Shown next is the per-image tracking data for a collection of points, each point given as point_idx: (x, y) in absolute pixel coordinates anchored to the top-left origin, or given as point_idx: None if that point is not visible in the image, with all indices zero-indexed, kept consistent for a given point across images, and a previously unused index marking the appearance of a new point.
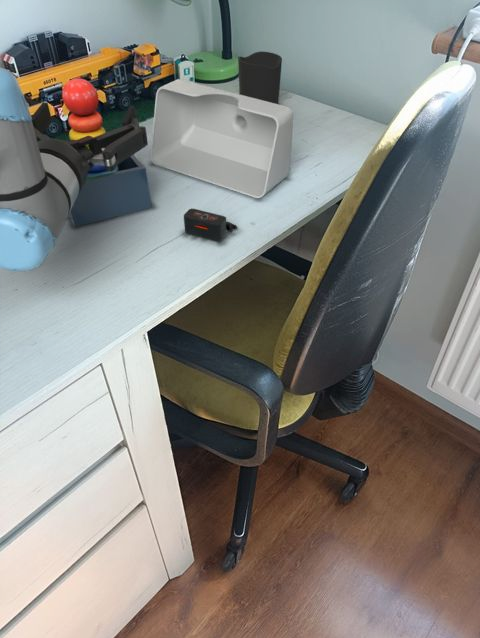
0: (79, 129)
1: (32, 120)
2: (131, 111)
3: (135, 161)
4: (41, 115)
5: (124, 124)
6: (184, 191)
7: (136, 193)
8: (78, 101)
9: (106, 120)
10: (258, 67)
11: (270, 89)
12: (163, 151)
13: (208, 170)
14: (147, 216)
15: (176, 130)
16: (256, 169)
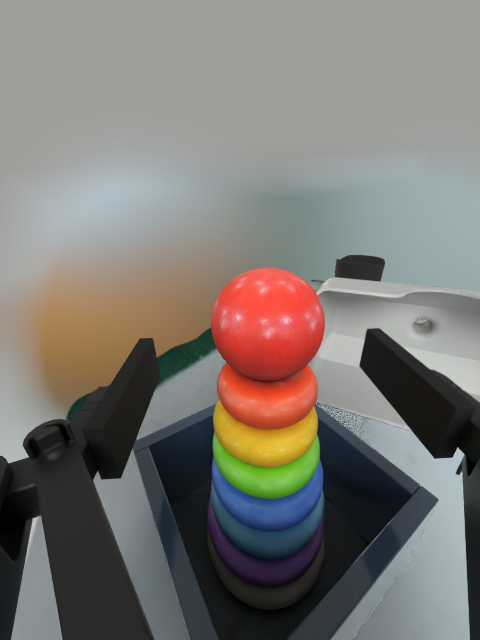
0: (266, 427)
1: (96, 429)
2: (402, 348)
3: (380, 465)
4: (134, 384)
5: (463, 412)
6: (417, 474)
7: (400, 566)
8: (288, 343)
9: (206, 330)
10: (370, 266)
11: None
12: None
13: None
14: (432, 630)
15: None
16: (474, 396)
